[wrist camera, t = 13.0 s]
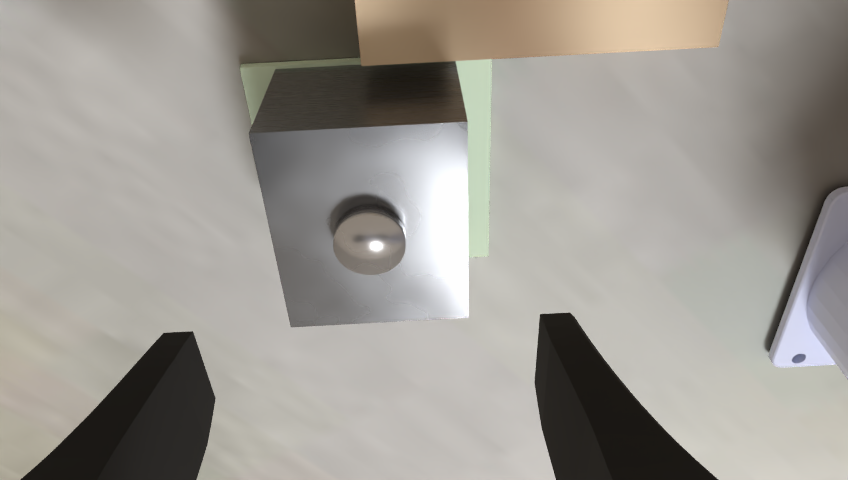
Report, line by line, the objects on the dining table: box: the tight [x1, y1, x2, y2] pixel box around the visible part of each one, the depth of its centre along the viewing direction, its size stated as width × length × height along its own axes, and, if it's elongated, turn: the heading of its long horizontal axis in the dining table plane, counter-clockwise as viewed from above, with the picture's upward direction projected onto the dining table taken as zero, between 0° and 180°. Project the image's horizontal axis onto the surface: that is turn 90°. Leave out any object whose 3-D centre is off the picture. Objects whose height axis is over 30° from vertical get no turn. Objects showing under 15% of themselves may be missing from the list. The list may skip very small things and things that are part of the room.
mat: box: [240, 58, 492, 257], centre depth 20 cm, size 7×7×1 cm
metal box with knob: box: [249, 61, 469, 327], centre depth 18 cm, size 5×6×4 cm
